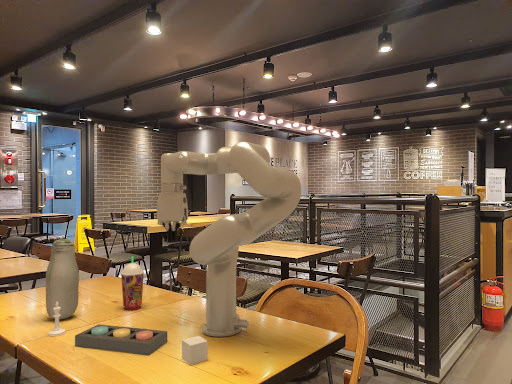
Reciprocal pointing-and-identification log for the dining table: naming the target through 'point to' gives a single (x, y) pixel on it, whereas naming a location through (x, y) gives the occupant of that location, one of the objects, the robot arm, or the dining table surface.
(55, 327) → the chess piece
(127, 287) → the smoothie
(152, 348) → the button panel
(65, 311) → the grey bottle
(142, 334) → the brick button
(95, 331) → the teal button
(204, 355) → the white cube
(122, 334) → the mustard button
